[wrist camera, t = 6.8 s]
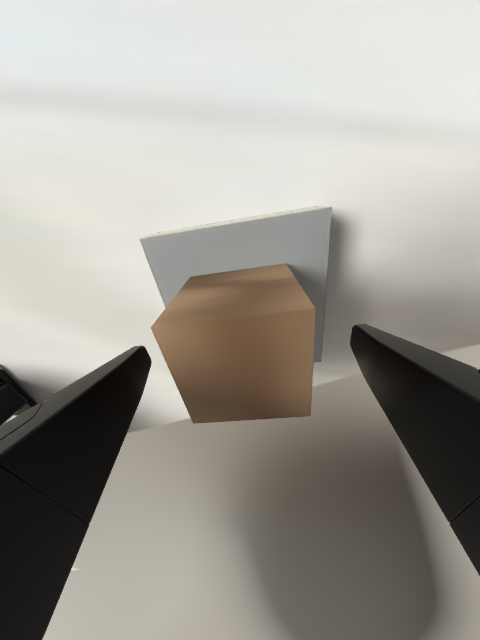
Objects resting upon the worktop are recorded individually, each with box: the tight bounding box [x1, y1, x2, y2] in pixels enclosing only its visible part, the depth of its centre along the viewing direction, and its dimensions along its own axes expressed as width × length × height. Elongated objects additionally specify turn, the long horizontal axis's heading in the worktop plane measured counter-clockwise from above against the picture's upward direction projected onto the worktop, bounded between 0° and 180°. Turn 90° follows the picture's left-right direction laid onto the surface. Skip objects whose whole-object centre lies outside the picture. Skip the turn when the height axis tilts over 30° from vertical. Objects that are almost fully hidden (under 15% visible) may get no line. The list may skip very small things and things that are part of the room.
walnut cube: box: [151, 263, 315, 423], centre depth 9 cm, size 5×5×5 cm
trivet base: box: [140, 206, 332, 362], centre depth 13 cm, size 9×9×3 cm
